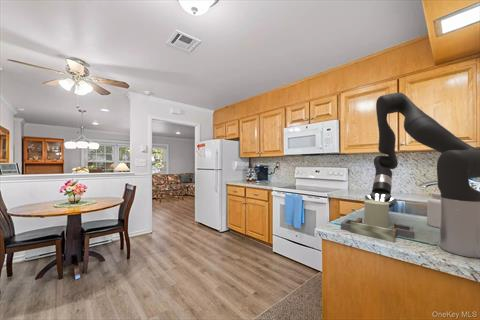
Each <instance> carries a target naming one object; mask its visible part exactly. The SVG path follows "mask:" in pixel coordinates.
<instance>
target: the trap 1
mask: <svg viewBox="0 0 480 320" xmlns="http://www.w3.org/2000/svg"><path fill="white" fill-rule="evenodd" d="M356 220H357V219H355V220H354V219H351V218H350V219H349V218H345V219H344V220H343V221H342V222H340V230H344V231H348V232H350V224H351V222H355V221H356Z"/></svg>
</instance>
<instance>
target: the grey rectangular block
mask: <svg viewBox="0 0 480 320" xmlns="http://www.w3.org/2000/svg"><path fill="white" fill-rule="evenodd" d="M388 202H389V201H388ZM388 202H384V201H378V200H373V199H371V200H365V199H364V201H363V203H364V206H363V207H364V208H363V211H364V212H363V216H364V217H363V224H366V225H371V226H377V227H382V228H387V229H390V228H389V227H390V225H389V223H390V220H389V219H390V208H389V203H388Z"/></svg>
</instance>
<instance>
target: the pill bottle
mask: <svg viewBox="0 0 480 320" xmlns="http://www.w3.org/2000/svg"><path fill="white" fill-rule="evenodd" d="M440 209H441V193H440V192H431V198H428V199H427V208H426V210H427V213H426V225H428V226H431V227H435V228H437V229H440Z"/></svg>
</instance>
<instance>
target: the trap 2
mask: <svg viewBox="0 0 480 320" xmlns="http://www.w3.org/2000/svg"><path fill="white" fill-rule="evenodd" d="M397 224H398V226H397V228H396V236H398V235H400V236H399V237H403V236H404V238H408V239H414V234H415V233H414V226H411V225H407V224H406V225H405V224H400V223H397Z"/></svg>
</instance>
